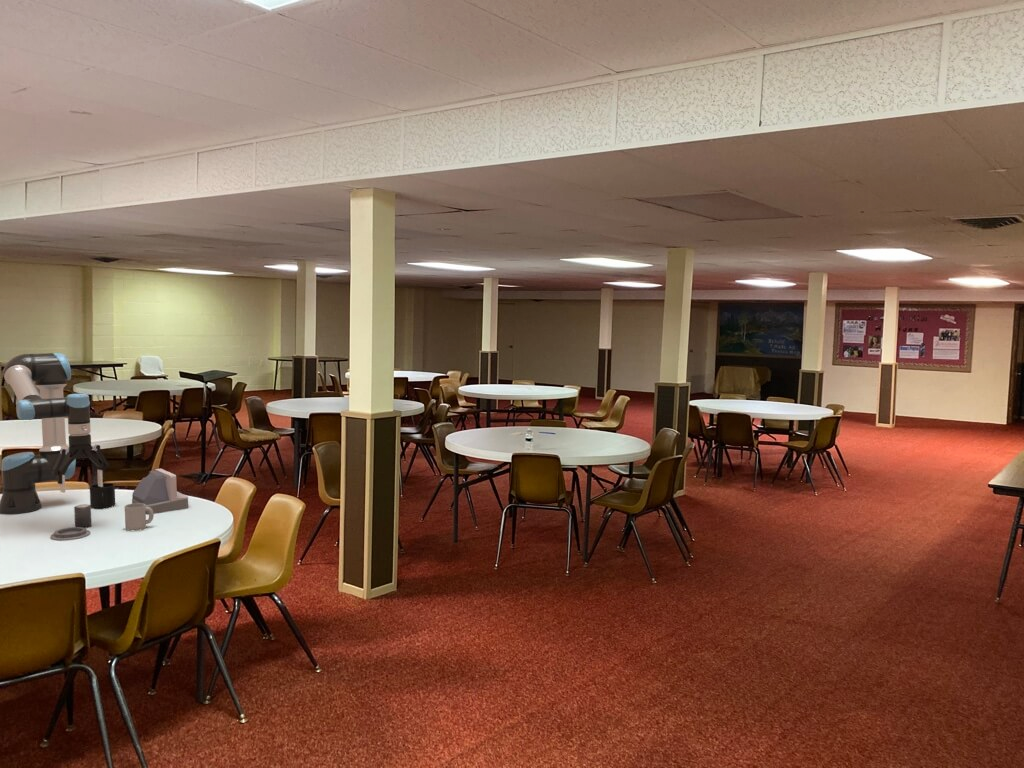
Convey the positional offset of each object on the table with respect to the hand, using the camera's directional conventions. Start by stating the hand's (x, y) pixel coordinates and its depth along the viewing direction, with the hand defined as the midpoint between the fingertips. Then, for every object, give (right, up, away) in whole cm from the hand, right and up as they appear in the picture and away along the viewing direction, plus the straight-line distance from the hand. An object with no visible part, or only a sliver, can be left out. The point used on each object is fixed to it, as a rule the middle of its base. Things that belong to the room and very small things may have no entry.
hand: (82, 489), depth 308 cm
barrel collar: (+1, -16, -10) cm, 19 cm away
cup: (+22, -15, +1) cm, 26 cm away
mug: (-8, -12, +32) cm, 35 cm away
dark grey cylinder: (0, -15, +2) cm, 15 cm away
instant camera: (+15, -12, +33) cm, 38 cm away
